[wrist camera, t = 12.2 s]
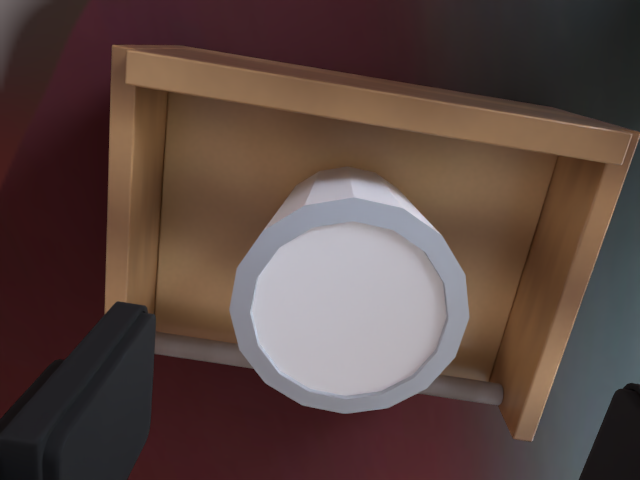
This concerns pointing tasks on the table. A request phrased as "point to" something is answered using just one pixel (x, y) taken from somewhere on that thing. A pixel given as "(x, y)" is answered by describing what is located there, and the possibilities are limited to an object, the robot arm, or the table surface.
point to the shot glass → (349, 296)
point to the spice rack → (366, 154)
